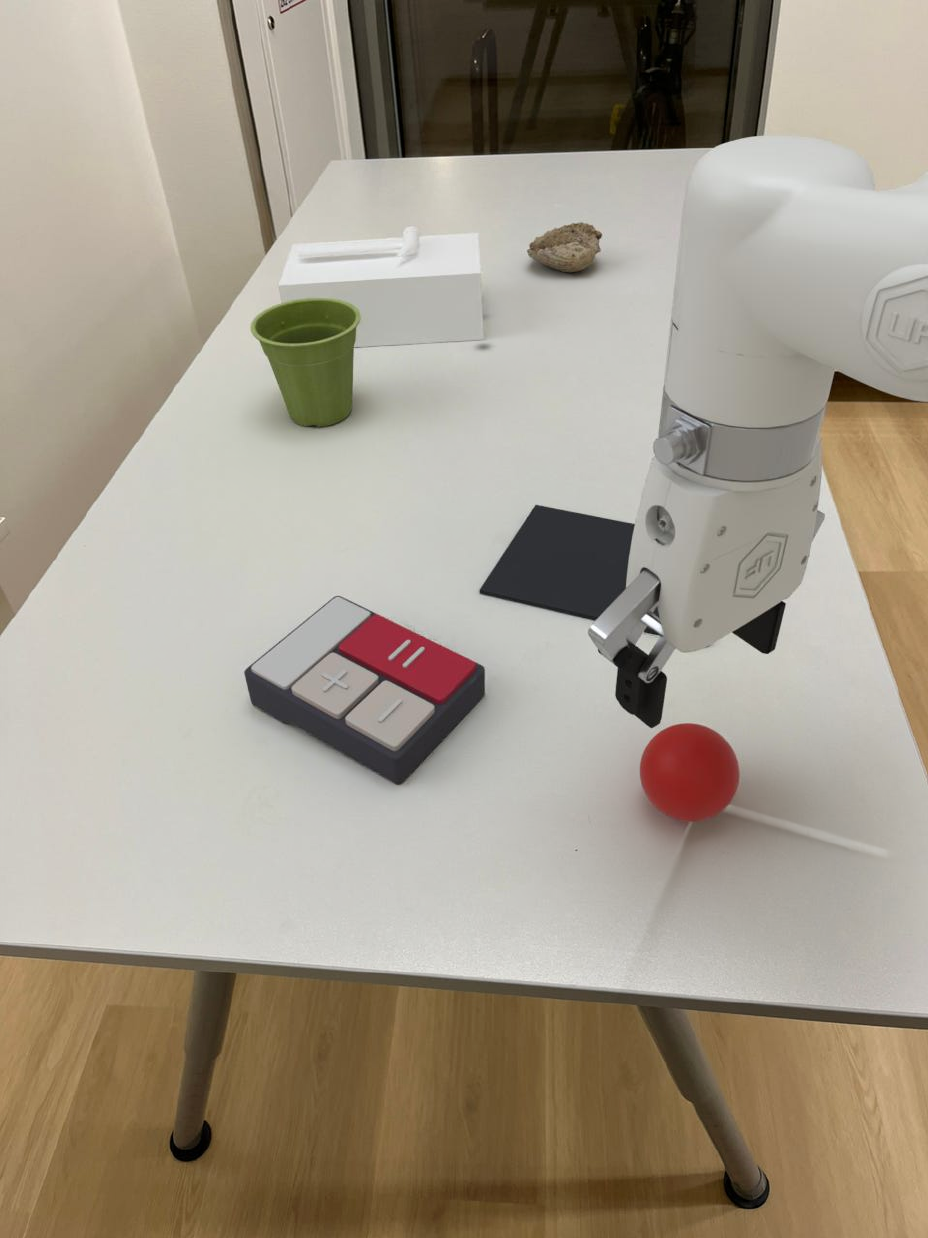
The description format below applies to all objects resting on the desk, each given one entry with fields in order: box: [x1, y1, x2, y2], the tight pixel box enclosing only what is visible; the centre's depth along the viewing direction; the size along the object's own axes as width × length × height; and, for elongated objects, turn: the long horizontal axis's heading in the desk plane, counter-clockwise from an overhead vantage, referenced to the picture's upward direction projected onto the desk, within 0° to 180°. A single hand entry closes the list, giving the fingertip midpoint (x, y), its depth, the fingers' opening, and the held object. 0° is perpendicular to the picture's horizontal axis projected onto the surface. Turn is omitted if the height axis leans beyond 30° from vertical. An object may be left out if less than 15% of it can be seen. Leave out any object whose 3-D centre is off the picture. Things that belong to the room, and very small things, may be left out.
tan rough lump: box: [526, 221, 603, 273], centre depth 138 cm, size 11×7×10 cm
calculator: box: [243, 595, 486, 785], centre depth 73 cm, size 11×4×15 cm
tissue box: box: [277, 226, 485, 348], centre depth 124 cm, size 14×25×11 cm, turn 91°
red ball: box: [639, 722, 740, 822], centre depth 63 cm, size 6×6×6 cm
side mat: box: [479, 504, 660, 636], centre depth 84 cm, size 20×14×1 cm
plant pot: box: [250, 298, 361, 427], centre depth 106 cm, size 12×12×11 cm
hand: (696, 675), depth 57 cm, fingers open, 9 cm apart
